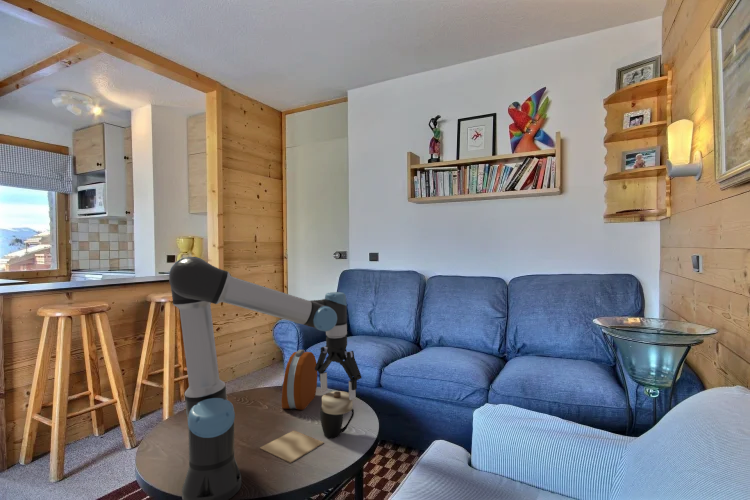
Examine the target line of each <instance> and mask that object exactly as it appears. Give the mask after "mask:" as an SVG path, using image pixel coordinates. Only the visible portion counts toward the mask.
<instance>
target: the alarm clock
mask: <svg viewBox="0 0 750 500" xmlns="http://www.w3.org/2000/svg"><path fill="white" fill-rule="evenodd" d="M314 354H315V353H313V352H311V351H305V349H298V350H297V351H294V352H292V354H291V355H290V356H289V359H288V361H287V363H286V365H285V366H286V368H285V370H284V371H285V372H284V375H283V382H282V389H281V390H282V392H281V409H283V410H285V409H286V410H292V409H296V410H297V411H298V410H299V411H300V410H301V411H303V410H305V409H306V408H307V407H308V406H309V404H310V403H311V402H313V400H314V399H315V397H316V392H317V387H318V371H315V367H316V364H317V360H316V357H315V355H314Z"/></svg>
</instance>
